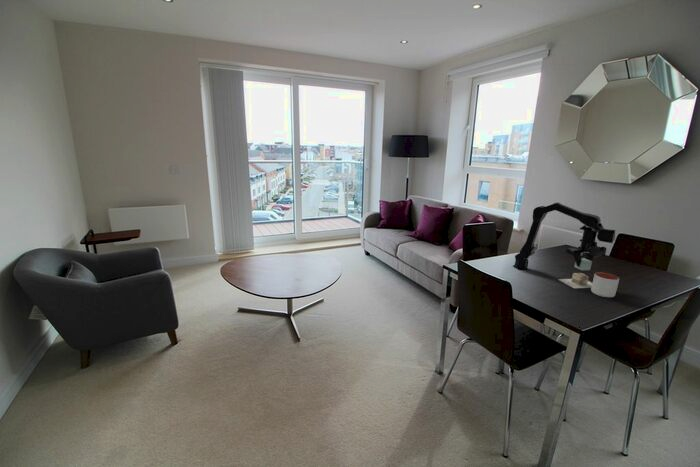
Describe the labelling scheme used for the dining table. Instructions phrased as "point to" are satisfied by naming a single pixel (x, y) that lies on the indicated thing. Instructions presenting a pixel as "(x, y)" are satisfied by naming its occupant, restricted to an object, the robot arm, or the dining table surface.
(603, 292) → the cup
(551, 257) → the dining table surface
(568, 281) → the white flat rectangular panel
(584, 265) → the sage block
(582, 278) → the maple block
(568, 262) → the dining table surface
